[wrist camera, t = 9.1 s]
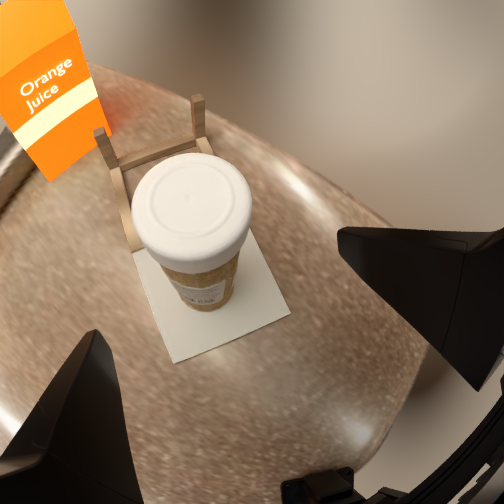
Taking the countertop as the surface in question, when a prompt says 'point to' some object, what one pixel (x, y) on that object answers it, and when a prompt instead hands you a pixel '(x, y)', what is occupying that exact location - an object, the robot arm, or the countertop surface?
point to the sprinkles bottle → (194, 225)
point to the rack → (145, 156)
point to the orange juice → (46, 84)
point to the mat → (218, 321)
